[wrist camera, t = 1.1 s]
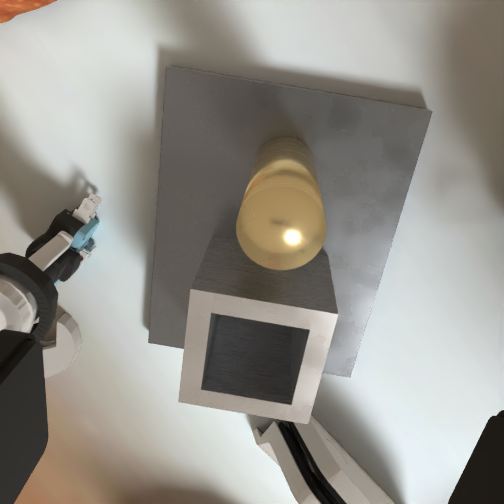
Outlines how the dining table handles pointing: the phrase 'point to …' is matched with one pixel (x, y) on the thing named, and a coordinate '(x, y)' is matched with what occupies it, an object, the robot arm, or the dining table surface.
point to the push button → (44, 270)
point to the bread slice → (19, 7)
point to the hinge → (318, 465)
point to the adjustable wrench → (62, 346)
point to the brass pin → (282, 207)
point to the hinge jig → (249, 272)
